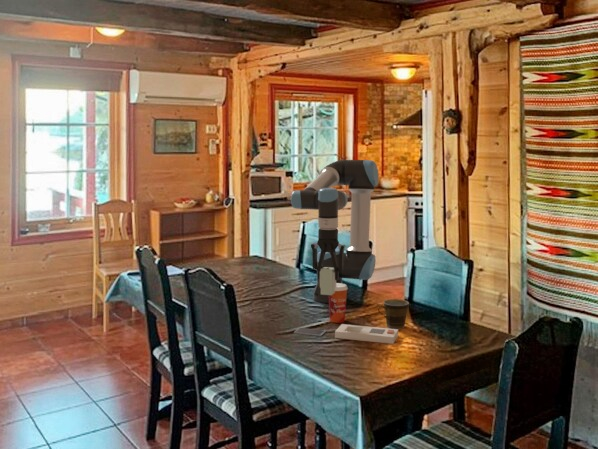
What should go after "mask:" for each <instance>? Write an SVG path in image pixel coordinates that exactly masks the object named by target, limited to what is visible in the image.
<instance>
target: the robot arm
mask: <svg viewBox="0 0 598 449" xmlns="http://www.w3.org/2000/svg"><path fill="white" fill-rule="evenodd" d="M379 174H380V173H379V170H378V166H377V163H376V162H375V161H374V160H369V159H339V160H336V161H333V162H331V163H329V164H327V165H326V166H324V167H323V168H322V169H321V170H320V172H319V173H318V176H317V177H316V178H314V180H312V181H311V182H310V183H309V184H308V185H307V186H306V187H305V188H303V189H302V190H300V189H298V190H297V189H296V190H293V191H292V193H291V196H290V204H291V207H292V208H293V209H297V210H318V212H317V213H318V223H317V224H318V228H319V229H318V232H317V233H318V239H317V242H313V243H311V245H310V248H311V251H312V252H311V253H312V254H311V255H312V259H311V260H312V269H313V270H316V285H315V288H314V290H313V293H312V294H313V295H312V299H313V301H315V302H317V303H318V302H319V303H325V304H329V295H322V294H321V269H322V268H323V267H332V268H334V272H333V289H335V288H336V283H342V284H343V279H350V280H359V281H361V280H364V281H367V280H371V278H372V277H373V274H374V271H375V269H376V268H375V267H376V263H377V262H376V261H377V260H376V255H375V254H373V253H372V252H373V249H371V247H370V221H371V220H370V218H371V199H372V198H371V195H372V193H373V192H374V191H375V187H377V186H379V180H380V177H379ZM336 186H348V190H349V192H350V193H351V203H350V204H351V206H350V231H349V232H350V234H349V246H348V247H347V248H346V245H345V244H341V243H340V241H339V230H338V227H339V211H341V210H342V209H344V208H345V207H346V206H347V204H348V199H349V198H348V196H347V194H346V193H345V192H344V191H342V190H338V189H337V188H335V187H336ZM333 187H334V188H333ZM318 248H319V249H320V251H319V252H318ZM345 249H346V250H345ZM345 251H346V252H345Z"/></svg>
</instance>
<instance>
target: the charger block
mask: <svg viewBox="0 0 598 449" xmlns="http://www.w3.org/2000/svg"><path fill="white" fill-rule="evenodd" d="M333 272H334V268H332V267H323V268H322V269H321V294H322V295H333V294H334V293H335V289H333Z"/></svg>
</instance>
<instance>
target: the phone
mask: <svg viewBox="0 0 598 449" xmlns="http://www.w3.org/2000/svg"><path fill="white" fill-rule="evenodd" d="M326 332H327V331H326V330H324V329H314V328H304V327H298V328H297V329H296V330H295V331H294V332H293V334H297V335H306V336H316V337H322V336H323V335H324V334H325V333H326Z"/></svg>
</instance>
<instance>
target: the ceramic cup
mask: <svg viewBox="0 0 598 449" xmlns="http://www.w3.org/2000/svg"><path fill="white" fill-rule="evenodd" d="M409 306H410V302H409V301H408V300H406V299H405V300H404V299H398V298H397V299H395V298H393V299H386V300H384V301H383V305H379V306H378V308H377V311H378V313H380V314H381V315H382V317H384V318H385V321H386V328H389V329H398V330H402V329H404V327H405V326H406V321H407V315H408V311H409ZM381 308H383V309H384V313H383V312H381V310H380V309H381Z"/></svg>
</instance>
